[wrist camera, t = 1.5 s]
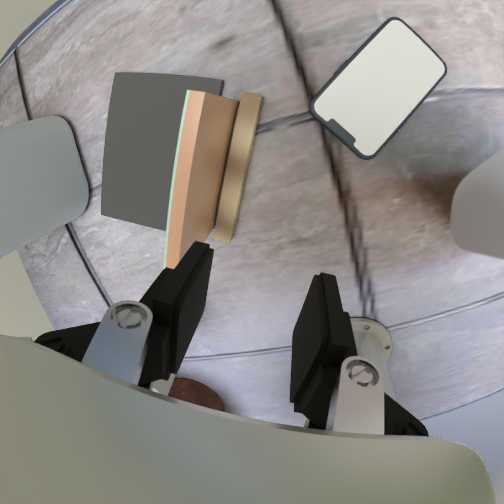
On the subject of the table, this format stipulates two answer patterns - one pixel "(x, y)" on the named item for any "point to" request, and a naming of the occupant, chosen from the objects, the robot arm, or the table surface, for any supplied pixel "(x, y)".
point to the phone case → (378, 88)
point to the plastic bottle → (38, 181)
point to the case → (195, 394)
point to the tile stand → (236, 165)
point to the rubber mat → (144, 144)
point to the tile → (197, 171)
